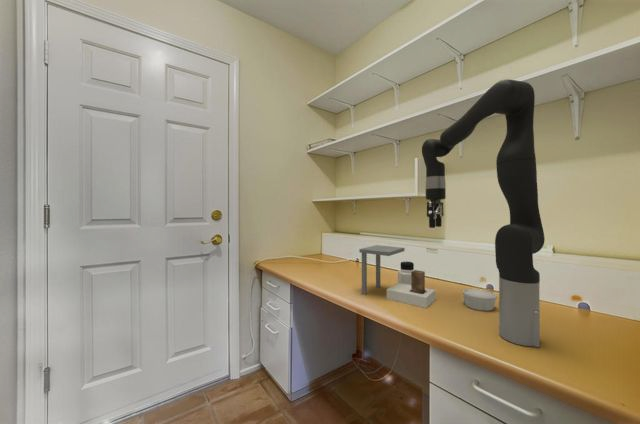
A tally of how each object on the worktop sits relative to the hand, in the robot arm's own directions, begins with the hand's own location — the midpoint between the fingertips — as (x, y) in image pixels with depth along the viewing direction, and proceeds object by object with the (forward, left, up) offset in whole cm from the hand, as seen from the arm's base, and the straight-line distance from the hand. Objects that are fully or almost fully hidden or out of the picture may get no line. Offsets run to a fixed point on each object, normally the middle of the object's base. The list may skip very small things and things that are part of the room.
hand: (435, 227), depth 105 cm
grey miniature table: (+21, +6, -30) cm, 37 cm away
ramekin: (-15, -3, -30) cm, 34 cm away
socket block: (+8, +6, -30) cm, 32 cm away
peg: (+5, +6, -30) cm, 31 cm away
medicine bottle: (+16, -10, -30) cm, 36 cm away
